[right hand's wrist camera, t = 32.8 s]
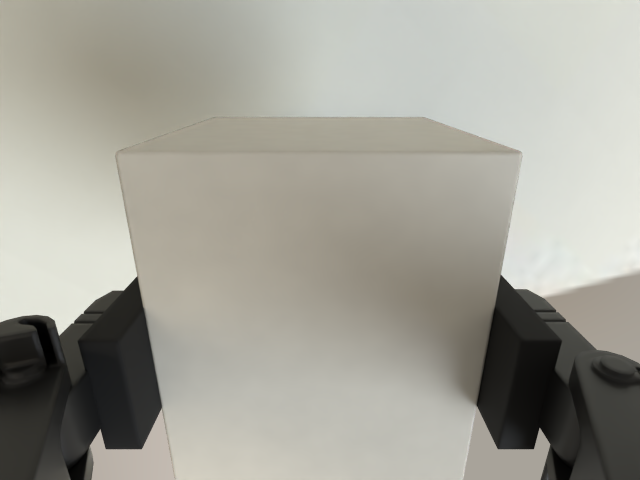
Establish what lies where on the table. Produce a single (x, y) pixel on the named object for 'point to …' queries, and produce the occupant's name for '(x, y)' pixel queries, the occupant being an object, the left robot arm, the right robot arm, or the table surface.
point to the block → (318, 291)
